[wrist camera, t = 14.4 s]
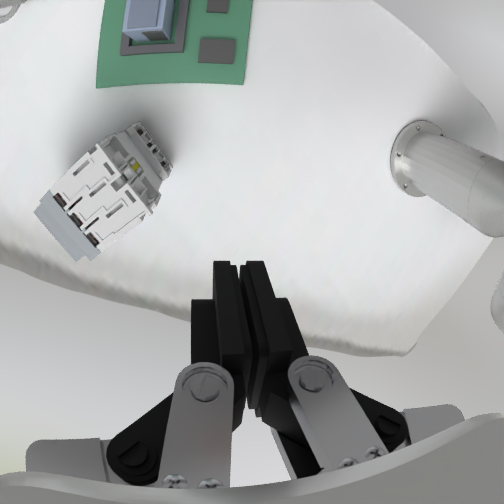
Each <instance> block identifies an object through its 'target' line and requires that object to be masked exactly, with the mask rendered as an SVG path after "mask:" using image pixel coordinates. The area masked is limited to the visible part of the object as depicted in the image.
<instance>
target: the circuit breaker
mask: <svg viewBox="0 0 504 504" xmlns="http://www.w3.org/2000/svg"><path fill="white" fill-rule="evenodd" d="M140 129H141V130H142V132H143V134H142V135H141V136H139V134H138V133H137V131H138V130H140ZM145 135H146V136H147V137H148V138H147V137H146V136H145ZM148 139H149V140H148ZM149 142H150V143H151V144H152V146H151V147H149V146H148V143H149ZM95 146H96V147H95V148H93V149H91V150H90V151H88V152H87V153H86V154H85V155H84V156H83V157H81V158H80V159H79V160H78V161H77V162H76V163H75V164H74V165H73V166H72V167H71V168H70V169H69V170H68V171H67V172H66V173H65V174H64V175H63V176H62V177H61V178H60V179H59V180H58V181H57V182H56V183H55V184H54V185H53V186H52V188H51V189H50V190H49V191H48V192H47V193H46V194H45V195H44V196H43V197H42V198H41V200H40V202H41V204H40V205H39V206H38V208H37V209H36V210H35V211H34V213H35V215H36V216H37V217H38V218H39V220H40V221H41V222H42V223H43V224H44V226H45V227H46V228H47V229H48V230H49V232H50V233H51V234H52V235H53V236H54V237H55V239H56V240H57V241H58V242H59V243H60V244H61V245H62V247H63V248H64V249H65V250H66V251H67V252H68V253H69V254H70V255H71V257H72V258H73V259H74V260H75V261H76V262H77V261H78V260H79V259H81V258H82V257H83V256H84V255H86V256H87V258H88V259H89V260H90V261H91V260H92V259H94V258H95V257H96V256H97V255H99V254H100V253H101V252H102V251H104V250H105V249H106V248H107V247H109V246H110V245H111V244H113V243H114V242H115V241H117V240H118V239H119V238H120V237H122V236H123V235H124V234H126V233H127V232H128V231H130V230H131V229H133V228H134V227H135V226H137V225H138V224H139V223H141V222H142V221H143V219H144V216H145V214H146V213H148V215H149V216H150V215H152V213H153V211H152V209H153V208H154V207H156V206H157V204H158V202H159V200H160V197H161V194H160V193H159V191H158V190H159V187H160V185H161V183H162V181H163V180H165V179H166V178H168V177H169V175H170V172H171V168H173V166H172V165H171V164H170V162H169V161H168V160H167V158H166V157H165V155H164V154H163V153H162V151H161V150H160V149H159V147H158V146H157V144H156V143H155V142H154V140H153V139H152V137H151V136H150V135H149V133H148V132H147V130H146V129H145V128H144V126H143V125H142V123H141V122H140V121H139V122H138V123H135V124H133V125H131V126H130V127H128V128H127V129H126V130H124V131H122V132H121V133H119V134H117V135H116V134H115V133H114V134H112V135H110V136H108V137H107V138H105V139H104V140H103V141H101V142H98V143H97V144H96V145H95ZM154 148H155V150H156V152H153V151H152V150H153V149H154ZM158 153H159V154H160V155H161V156H160V155H159V154H158ZM161 157H162V158H161ZM163 161H164V162H165V163H166V164H165V165H164V166H161V164H160V163H161V162H163Z"/></svg>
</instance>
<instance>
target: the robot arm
mask: <svg viewBox="0 0 504 504" xmlns="http://www.w3.org/2000/svg"><path fill="white" fill-rule="evenodd" d="M391 171H392V175H393V178H394V180H395V182H396V184H397V185H398V187H399V188H400V189H401V190H402V191H404V192H405V193H407V194H408V195H411V196H414V197H423V196H426V195H428V196H429V197H431V198H432V199H434V200H435V201H437V202H438V203H440V204H441V205H443V206H444V207H446V208H447V209H449V210H450V211H452V212H453V213H455V214H456V215H457V216H459V217H460V218H462V219H463V220H464V221H466V222H467V223H469V224H470V225H471V226H473V227H474V228H476V229H477V230H478V231H480V232H481V233H483V234H484V235H487V236H490V237H503V236H504V162H503V161H501V160H499V159H497V158H495V157H493V156H490V155H488V154H486V153H483V152H481V151H479V150H476V149H474V148H471V147H469V146H466V145H464V144H461V143H459V142H456V141H453V140H451V139H448V138H446V136H445V134H444V133H443V132H442V130H441V129H440V128H439V127H438V126H436V125H434V124H432V123H430V122H426V121H417V122H414V123H411V124H409V125H408V126H407V127H405V128H404V129H403V130H402V131H401V132H400V134H399V135H398V137H397V139H396V141H395V143H394V146H393V149H392V153H391ZM491 314H492V317H493V319H494V321H495V323H496V325H497V326H498V327H499V329H500V330H501V331H502V332H503V333H504V271H503V273H502V275H501V278H500V280H499V282H498V284H497V287H496V289H495V291H494V294H493V296H492V300H491ZM246 397H247V403H248V408H249V409H255V414H256V417H262V422H264V423H266V424H267V425H269V426H270V427H271V432H272V435H273V437H274V440H275V442H276V444H277V447H278V449H279V451H280V454H281V456H282V459H283V461H284V463H285V466H286V468H287V470H288V473H289V475H290V477H291V480H289V481H283V482H277V483H270V484H263V485H254V486H245V487H232V488H230V466H231V465H230V464H231V441H232V432H233V431H234V430H235V429H236V428H237V427H238V426H239V425H240V424H241V422H242V416H243V410H244V408H245V401H246ZM0 504H504V414H501V413H491V414H483V415H479V416H475V417H472V418H470V419H467V420H465V419H464V416H463V414H462V412H461V411H460V410H459V409H458V408H457V407H455V406H453V405H448V404H446V405H438V406H431V407H422V408H413V409H404V410H403V411H402V412H398V411H396V410H395V409H393V408H391V407H388V406H386V405H384V404H382V403H380V402H378V401H376V400H374V399H371V398H369V397H367V396H365V395H363V394H361V393H359V392H357V391H355V390H353V389H351V388H349V387H348V385H347V384H346V382H345V380H344V379H343V377H342V376H341V374H340V372H339V371H338V369H337V368H336V367H335V366H334V365H333V363H331V362H330V361H328V360H327V359H324V358H322V357H319V356H309V354H308V351H307V349H306V346H305V343H304V340H303V338H302V335H301V332H300V330H299V327H298V324H297V322H296V319H295V316H294V314H293V311H292V308H291V306H290V303H289V301H288V299H287V298H276V297H275V294H274V291H273V288H272V285H271V282H270V279H269V276H268V273H267V270H266V267H265V264H264V262H263V261H247V262H246V265H241V266H240V275H239V277H238V272H237V267H236V265H230V261H214V262H213V299H192V301H191V365H189V366H187V367H186V368H184V369H183V370H182V371H181V372H180V373H179V375H178V377H177V380H176V383H175V388H174V392H173V393H172V394H171V395H169V396H168V397H167V398H165V399H164V400H163V401H162V402H160V403H159V404H158V405H156V406H155V407H154V408H152V409H151V410H150V411H148V412H147V413H146V414H145V415H143V416H142V417H141V418H139V419H138V420H137V421H135V422H134V423H133V424H131V425H130V426H129V427H127V428H126V429H124V430H123V431H122V432H120V433H119V434H117V435H116V436H115V437H114V438H113V439H111V440H100V438H91V439H68V440H38V441H35V442H33V443H32V444H31V445H30V446H29V448H28V449H27V452H26V472H14V473H7V474H4V475H0Z"/></svg>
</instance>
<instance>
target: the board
mask: <svg viewBox="0 0 504 504" xmlns="http://www.w3.org/2000/svg"><path fill="white" fill-rule="evenodd" d="M126 2H127V0H105V5H104V11H103V17H102V24H101V32H100V40H99V50H98V61H97V76H96V88H106V87H116V86H126V85H139V84H159V83H214V84H233V85H243V83H244V73H245V63H246V54H247V44H248V35H249V26H250V17H251V8H252V0H174V2H175V10H174V18H173V26H172V34H171V40H168V41H149V42H136V41H135V40H134V39H132V38H131V37H129V36H128V35H126V34H125V33H123V32H122V29H123V22H124V15H125V8H126Z"/></svg>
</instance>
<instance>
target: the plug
mask: <svg viewBox="0 0 504 504" xmlns="http://www.w3.org/2000/svg"><path fill="white" fill-rule="evenodd" d="M174 10H175V2H174V0H127V2H126V8H125V15H124V22H123V29H122V32H123V33H125V34H126V35H128V36H129V37H131V38H132V39H134V40H135V41H136V42H149V41H168V40H171V34H172V26H173V18H174Z"/></svg>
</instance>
